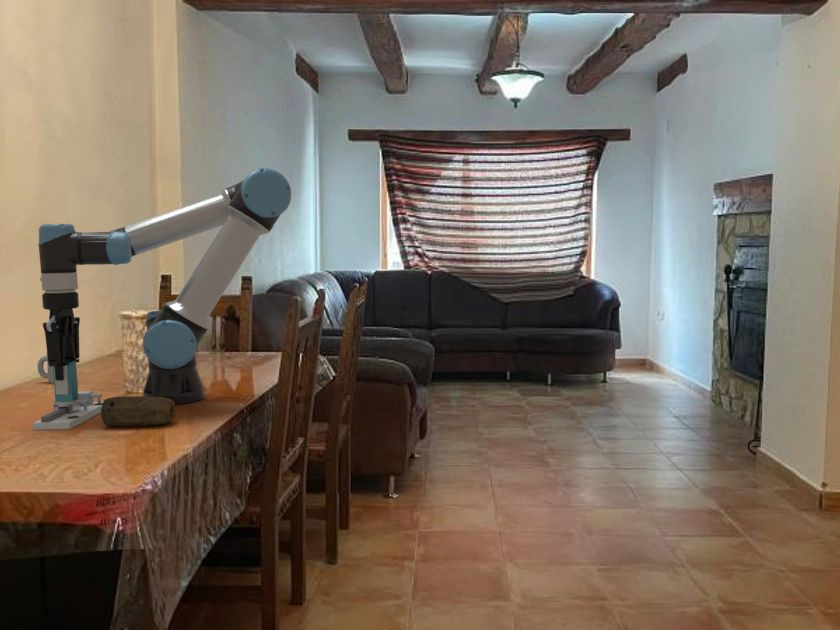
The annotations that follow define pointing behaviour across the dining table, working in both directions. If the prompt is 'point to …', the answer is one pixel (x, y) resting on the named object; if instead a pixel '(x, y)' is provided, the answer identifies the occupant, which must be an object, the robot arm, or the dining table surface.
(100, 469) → the dining table surface
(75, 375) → the block
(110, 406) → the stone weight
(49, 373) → the cup
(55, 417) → the gauge plate
